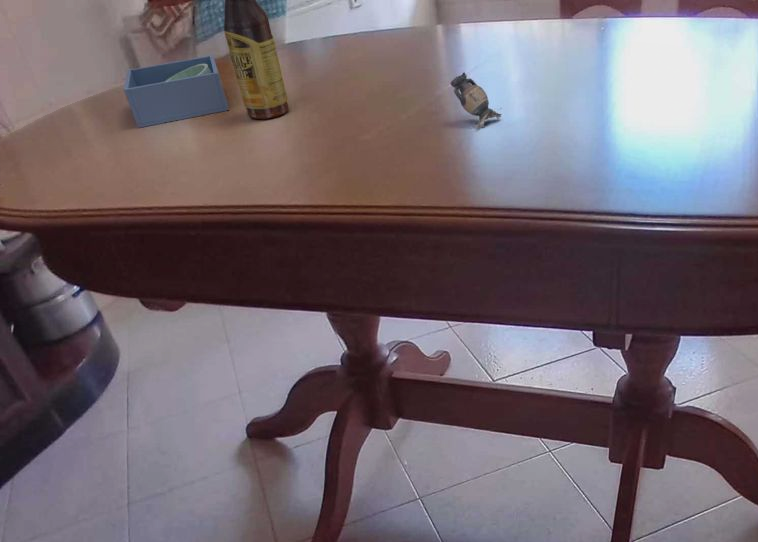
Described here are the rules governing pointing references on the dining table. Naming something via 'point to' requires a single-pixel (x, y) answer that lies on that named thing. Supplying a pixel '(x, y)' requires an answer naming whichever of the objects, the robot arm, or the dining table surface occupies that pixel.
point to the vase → (473, 99)
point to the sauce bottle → (255, 59)
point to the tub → (173, 92)
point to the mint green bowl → (192, 72)
